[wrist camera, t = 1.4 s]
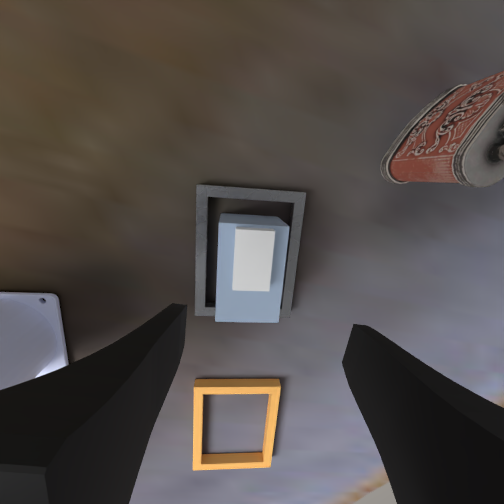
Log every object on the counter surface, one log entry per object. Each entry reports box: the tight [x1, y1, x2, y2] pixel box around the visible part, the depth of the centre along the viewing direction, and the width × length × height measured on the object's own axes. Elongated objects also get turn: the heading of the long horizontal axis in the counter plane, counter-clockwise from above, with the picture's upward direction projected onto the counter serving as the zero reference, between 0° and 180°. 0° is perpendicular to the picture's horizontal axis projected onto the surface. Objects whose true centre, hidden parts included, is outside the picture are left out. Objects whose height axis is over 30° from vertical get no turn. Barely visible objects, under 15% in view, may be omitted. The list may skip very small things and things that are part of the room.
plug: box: [215, 213, 289, 323], centre depth 19 cm, size 4×7×5 cm, turn 176°
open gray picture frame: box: [195, 184, 306, 318], centre depth 21 cm, size 8×11×1 cm
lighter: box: [380, 71, 504, 187], centre depth 15 cm, size 8×3×10 cm, turn 139°
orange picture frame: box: [193, 379, 281, 470], centre depth 26 cm, size 8×11×1 cm
